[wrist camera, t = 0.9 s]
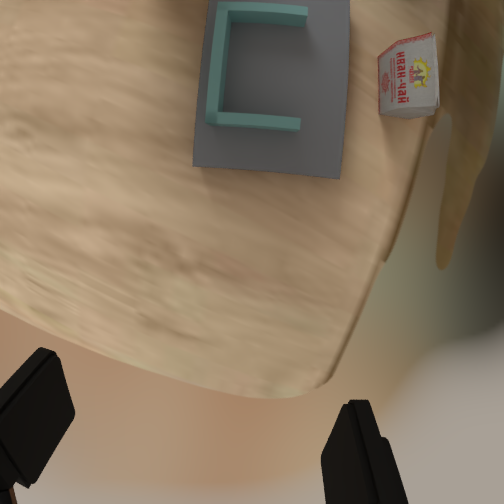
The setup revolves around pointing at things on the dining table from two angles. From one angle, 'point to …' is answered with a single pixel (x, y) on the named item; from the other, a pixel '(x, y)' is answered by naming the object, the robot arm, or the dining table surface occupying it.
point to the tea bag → (409, 78)
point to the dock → (273, 86)
